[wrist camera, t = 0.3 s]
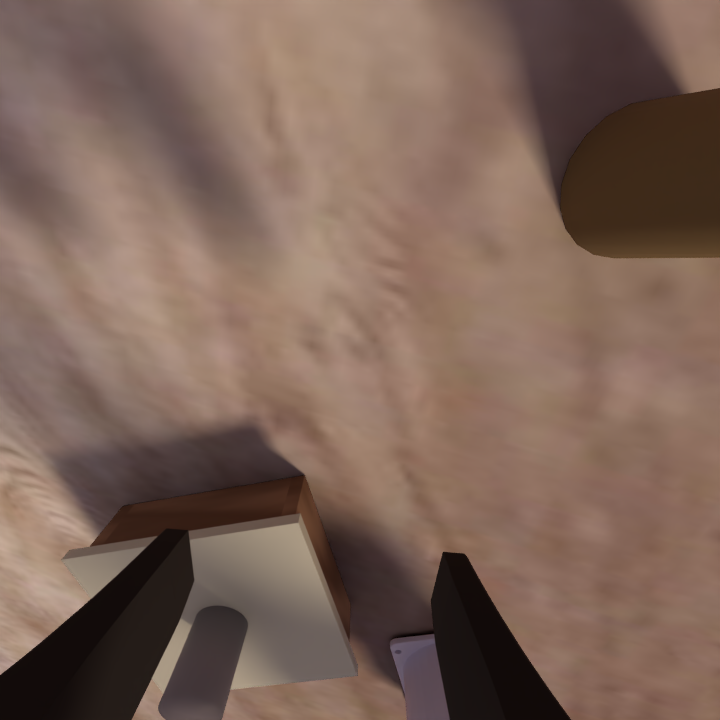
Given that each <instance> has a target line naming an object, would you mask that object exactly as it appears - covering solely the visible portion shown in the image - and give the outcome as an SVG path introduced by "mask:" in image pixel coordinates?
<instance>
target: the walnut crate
mask: <svg viewBox="0 0 720 720" xmlns="http://www.w3.org/2000/svg"><path fill="white" fill-rule="evenodd" d="M299 513H300V514H301V516H302V519H303V522H304V524H305V527H306V529H307V532H308V535H309V537H310V540H311V543H312V545H313V548H314V551H315V553H316V556H317V558H318V561H319V564H320V566H321V569H322V572H323V574H324V577H325V579H326V582H327V585H328V587H329V590H330V593H331V595H332V598H333V601H334V603H335V606H336V608H337V611H338V614H339V616H340V619H341V622H342V624H343V627H344V630H345V632H346V635H347V637H348V640H349V635H350V611H351V604H350V601H349V599H348V596H347V593H346V590H345V587H344V585H343V582H342V579H341V576H340V573H339V570H338V568H337V565H336V562H335V559H334V556H333V554H332V551H331V548H330V545H329V542H328V539H327V537H326V534H325V531H324V528H323V525H322V523H321V520H320V517H319V514H318V511H317V509H316V506H315V503H314V500H313V497H312V494H311V492H310V489H309V486H308V483H307V480H306V478H305V475H304V476H298V477H292V478H286V479H280V480H274V481H268V482H262V483H256V484H251V485H245V486H239V487H233V488H227V489H221V490H215V491H209V492H203V493H198V494H192V495H186V496H180V497H174V498H168V499H162V500H156V501H150V502H145V503H139V504H133V505H127V506H123V507H122V508H121V509H120V510H119V511H118V513H117V514H116V515H115V516H114V518H113V519H112V520H111V521H110V522H109V524H108V525H107V526H106V527H105V529H104V530H103V531H102V532H101V533H100V535H99V536H98V537H97V538H96V540H95V541H94V542H93V543H92V544H91V546H98V545H104V544H110V543H116V542H123V541H129V540H135V539H142V538H148V537H154V536H158V535H159V534H161V533H162V532H163V531H164V530H165V529H166V528H169V529H181V530H188V531H192V530H198V529H205V528H211V527H217V526H223V525H230V524H236V523H242V522H249V521H255V520H261V519H268V518H274V517H280V516H286V515H293V514H299ZM91 546H90V547H91Z"/></svg>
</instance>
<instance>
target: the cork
mask: <svg viewBox="0 0 720 720" xmlns="http://www.w3.org/2000/svg"><path fill="white" fill-rule="evenodd" d="M560 209H561V213H562V217H563V220H564V224H565V228H566V230H567V231H568V233H569V234H570V235H571V237H572V238H573V239H574V241H575V242H576V243H577V245H579V246H580V247H582V248H584V249H585V250H587V251H589V252H590V253H592V254H594V255H599V256H604V257H610V258H718V257H720V88H718V89H712V90H706V91H701V92H695V93H689V94H683V95H678V96H672V97H666V98H660V99H655V100H649V101H644V102H638V103H632V104H630V105H628V106H626V107H624V108H622V109H620V110H618V111H616V112H614V113H612V114H611V115H609V116H607V117H606V118H604V119H603V120H602V121H601V122H600V123H599V124H598V125H597V126H596V127H595V128H594V129H593V130H591V131H590V132H589V133H588V134H587V135H586V136H585V138H584V139H583V141H582V142H581V144H580V145H579V147H578V148H577V150H576V151H575V153H574V154H573V156H572V157H571V159H570V161H569V164H568V167H567V170H566V173H565V176H564V179H563V182H562V185H561V203H560Z"/></svg>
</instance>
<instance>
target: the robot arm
mask: <svg viewBox="0 0 720 720" xmlns="http://www.w3.org/2000/svg"><path fill="white" fill-rule="evenodd" d="M193 583H194V572H193V564H192V556H191V547H190V539H189V531H188V530H181V529H169V528H166V529H165V530H164V531H163V532H162V533H161V534H159V535H158V536H157V537H156V538H155V539H154V540H153V541H152V542H151V543H150V544H149V545H148V546H147V547H146V548H145V549H144V550H143V551H142V552H141V553H140V554H139V555H138V556H137V557H136V558H135V559H134V560H132V561H131V562H130V563H129V564H128V565H127V566H126V567H125V568H124V569H123V570H122V571H121V572H120V573H119V574H118V575H117V576H116V577H114V578H113V579H112V580H111V581H110V582H109V583H108V584H107V585H106V586H105V587H104V588H102V589H101V590H100V591H99V592H98V593H97V594H96V595H95V596H94V597H93V598H92V599H90V600H89V601H88V602H87V603H86V604H85V605H84V606H83V607H82V608H80V609H79V610H78V611H77V612H76V613H75V614H73V615H72V616H71V617H70V618H69V619H68V620H66V621H65V622H64V623H63V624H62V625H61V626H59V627H58V628H57V629H56V630H55V631H54V632H52V633H51V634H50V635H49V636H48V637H47V638H45V639H44V640H43V641H42V642H41V643H40V644H38V645H37V646H36V647H35V648H33V649H32V650H31V651H30V652H29V653H27V654H26V655H25V656H24V657H22V658H21V659H20V660H19V661H17V662H16V663H15V664H14V665H12V666H11V667H10V668H9V669H7V670H6V671H5V672H4V673H2V674H1V675H0V720H132V718H133V716H134V714H135V711H136V709H137V707H138V705H139V703H140V701H141V699H142V697H143V695H144V693H145V691H146V689H147V687H148V685H149V683H150V681H151V679H152V677H153V675H154V673H155V671H156V669H157V667H158V665H159V663H160V661H161V658H162V656H163V654H164V652H165V650H166V648H167V646H168V644H169V642H170V640H171V638H172V636H173V634H174V632H175V629H176V627H177V625H178V623H179V621H180V618H181V616H182V613H183V610H184V608H185V605H186V603H187V600H188V597H189V594H190V591H191V589H192V586H193ZM431 606H432V618H433V628H434V634H428V635H420V636H411V637H403V638H395V639H392V640H391V641H390V649H391V652H392V655H393V659H394V662H395V665H396V668H397V671H398V674H399V678H400V681H401V684H402V687H403V690H404V694H405V701H406V714H407V720H571V719H570V717H569V716H568V715H567V713H566V712H565V711H564V709H563V708H562V707H561V705H560V704H559V702H558V701H557V700H556V698H555V697H554V695H553V694H552V693H551V691H550V690H549V688H548V687H547V686H546V684H545V683H544V681H543V680H542V678H541V677H540V675H539V674H538V672H537V671H536V670H535V668H534V667H533V665H532V664H531V662H530V661H529V659H528V658H527V656H526V655H525V653H524V652H523V650H522V649H521V647H520V646H519V644H518V642H517V641H516V639H515V638H514V636H513V634H512V633H511V631H510V630H509V628H508V626H507V625H506V623H505V622H504V620H503V619H502V617H501V615H500V614H499V612H498V610H497V609H496V607H495V605H494V604H493V602H492V600H491V598H490V597H489V595H488V593H487V592H486V590H485V588H484V586H483V585H482V583H481V581H480V579H479V578H478V576H477V574H476V572H475V570H474V569H473V567H472V565H471V563H470V561H469V559H468V557H467V556H466V555H465V554H462V553H450V552H443V554H442V558H441V562H440V566H439V570H438V574H437V578H436V582H435V586H434V590H433V594H432V598H431Z"/></svg>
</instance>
